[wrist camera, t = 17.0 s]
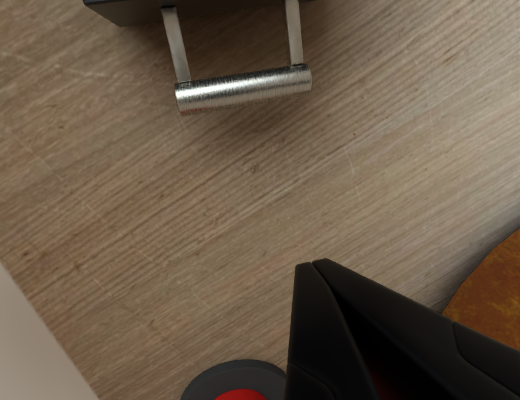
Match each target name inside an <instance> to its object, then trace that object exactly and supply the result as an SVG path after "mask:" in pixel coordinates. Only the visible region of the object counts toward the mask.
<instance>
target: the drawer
mask: <svg viewBox="0 0 520 400" xmlns="http://www.w3.org/2000/svg"><path fill="white" fill-rule="evenodd" d="M306 1H313V0H83V2H84V4H85V5H86V6H87V7H89V8H90V9H92V10H94V11H95V12H97V13H98V14H100V15H102V16H103V17H105V18H106V19H108V20H110V21H111V22H113V23H115V24H116V25H118V26H120V27H123V26H130V25H137V24H145V23H152V22H159V21H164V26H165V30H166V34H167V39H168V43H169V47H170V52H171V56H172V60H173V65H174V69H175V73H176V78H177V82H178V83H175V84H174V93H175V98H176V102H177V106H178V109H179V112H180V115H181V116H187V115H193V114H199V113H205V112H211V111H217V110H223V109H229V108H235V107H241V106H247V105H253V104H259V103H265V102H271V101H277V100H283V99H289V98H295V97H301V96H307V95H309V94H310V93H311V90H312V74H311V70H310V67H309V65H308V64H307V63H303V62H304V61H303V49H302V37H301V25H300V13H299V2H306ZM277 5H282V10H283V19H284V29H285V39H286V49H287V59H288V65H290V66H283V67H277V68H270V69H264V70H258V71H251V72H245V73H239V74H232V75H226V76H219V77H213V78H207V79H200V80H194V81H191V80H192V78H191V73H190V68H189V64H188V59H187V54H186V50H185V45H184V40H183V36H182V31H181V26H180V22H179V19H181V18H189V17H196V16H203V15H211V14H218V13H225V12H233V11H240V10H247V9H255V8H262V7H269V6H277Z"/></svg>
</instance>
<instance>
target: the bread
mask: <svg viewBox="0 0 520 400" xmlns="http://www.w3.org/2000/svg"><path fill="white" fill-rule="evenodd" d="M442 315H444V316H446V317H448V318H450V319H451V320H452V322H453V321H457V322H459V323H461V324H463V325H465V326H467V327H469V328H471V329H473V330H475V331H477V332H479V333H482V334H484V335H486V336H488V337H490V338H492V339H494V340H497V341H499V342H501V343H503V344H505V345H507V346H510V347H512V348H514V349H517V350H519V351H520V228H519V229H518V230H516V231H515V232H514V233H512V234H511V235H510V236H509V237H508V238H506V239H505V240H504V241H503V242H501V243H500V244H499V245H498V246H496V247H495V248H494V249H493V250H492V251H491V252H490V253H489V254H488V256H487V257H486V258H485V259H484V260H483V261H482V262H481V263H480V264H479V266H478V267H477V268H476V269H475V270H474V271H473V272H472V273H471V274H470V276H469V277H468V278H467V279H466V280H465V281H464V282H463V283H462V284H461V286H460V287H459V289H458V290H457V292H456V293H455V295H454V296H453V298H452V299H451V301H450V302H449V304H448V305H447V307H446V308H445V309H444V311H443V312H442Z"/></svg>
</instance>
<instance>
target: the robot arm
mask: <svg viewBox="0 0 520 400" xmlns="http://www.w3.org/2000/svg"><path fill="white" fill-rule="evenodd" d="M287 363H288V364H287V369H286V381H285V389H284V397H283V400H520V351H519V350H517V349H514V348H512V347H510V346H507V345H505V344H503V343H501V342H499V341H497V340H494V339H492V338H490V337H488V336H486V335H484V334H482V333H479V332H477V331H475V330H473V329H471V328H469V327H467V326H465V325H463V324H461V323H459V322H457V321H453V322H452V320H451V319H450V318H448V317H446V316H444V315H442V314H440V313H438V312H436V311H434V310H432V309H430V308H428V307H426V306H424V305H422V304H420V303H418V302H416V301H413V300H411V299H409V298H407V297H405V296H403V295H401V294H399V293H397V292H395V291H393V290H391V289H389V288H387V287H385V286H383V285H381V284H379V283H377V282H375V281H373V280H371V279H369V278H366V277H364V276H362V275H360V274H358V273H356V272H354V271H352V270H350V269H348V268H346V267H344V266H342V265H340V264H338V263H336V262H334V261H332V260H330V259H327V258H324V259H320V260H315V261H313V262H312V263H311V262H306V263H302V264H297V265H296V267H295V277H294V289H293V301H292V313H291V325H290V337H289V348H288V360H287Z"/></svg>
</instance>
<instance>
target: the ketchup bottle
mask: <svg viewBox="0 0 520 400" xmlns="http://www.w3.org/2000/svg"><path fill="white" fill-rule="evenodd" d="M214 400H266V398H265V397H264V396H263V395H262V394H261V393H259V392H257V391H254V390H250V389H236V390H231V391H228V392H225V393H223V394H221V395H219V396H218V397H216V398H215V399H214Z"/></svg>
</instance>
